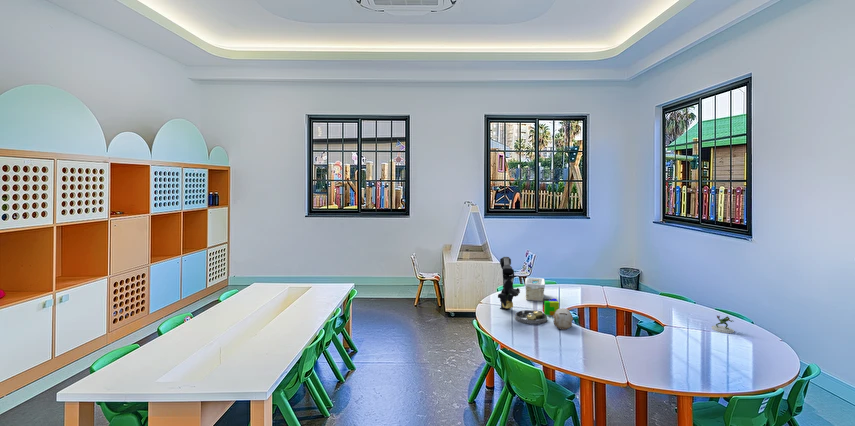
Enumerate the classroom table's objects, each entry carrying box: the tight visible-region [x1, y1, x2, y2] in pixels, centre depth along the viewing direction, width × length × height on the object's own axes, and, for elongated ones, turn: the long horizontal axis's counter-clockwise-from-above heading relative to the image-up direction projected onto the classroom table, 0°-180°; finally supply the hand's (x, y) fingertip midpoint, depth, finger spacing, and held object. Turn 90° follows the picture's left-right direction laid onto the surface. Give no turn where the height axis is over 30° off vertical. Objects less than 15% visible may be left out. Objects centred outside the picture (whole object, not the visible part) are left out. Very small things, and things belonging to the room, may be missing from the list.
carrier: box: [514, 309, 548, 325], centre depth 283 cm, size 22×22×5 cm
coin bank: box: [552, 307, 574, 330], centre depth 267 cm, size 16×17×13 cm
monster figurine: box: [711, 314, 735, 334], centre depth 258 cm, size 12×12×10 cm
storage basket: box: [524, 277, 546, 302], centre depth 335 cm, size 24×16×15 cm
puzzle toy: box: [542, 297, 560, 316], centre depth 294 cm, size 10×10×10 cm
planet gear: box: [502, 300, 514, 309], centre depth 284 cm, size 7×7×4 cm
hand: (507, 305), depth 284 cm, fingers closed on planet gear, 7 cm apart
